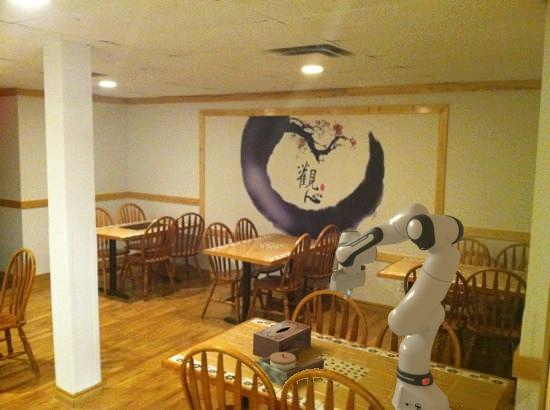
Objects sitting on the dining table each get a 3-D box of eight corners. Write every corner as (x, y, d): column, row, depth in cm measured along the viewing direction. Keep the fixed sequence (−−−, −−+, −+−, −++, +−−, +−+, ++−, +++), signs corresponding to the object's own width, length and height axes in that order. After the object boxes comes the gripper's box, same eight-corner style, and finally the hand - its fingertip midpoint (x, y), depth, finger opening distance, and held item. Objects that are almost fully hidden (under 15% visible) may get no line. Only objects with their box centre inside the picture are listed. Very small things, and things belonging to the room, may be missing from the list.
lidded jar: (264, 372, 207) (265, 350, 206) (287, 367, 211) (288, 346, 211) (276, 382, 197) (277, 360, 196) (300, 378, 202) (300, 355, 201)
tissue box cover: (286, 339, 245) (286, 319, 244) (310, 346, 236) (311, 326, 235) (252, 354, 224) (253, 333, 223) (278, 363, 216) (278, 341, 215)
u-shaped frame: (323, 370, 210) (324, 359, 209) (282, 387, 194) (283, 374, 193) (295, 357, 222) (295, 346, 222) (254, 372, 206) (255, 360, 205)
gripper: (338, 272, 205) (337, 304, 206) (368, 265, 218) (367, 296, 220) (327, 269, 209) (325, 300, 211) (357, 263, 223) (355, 293, 224)
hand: (347, 298), depth 215 cm, fingers closed
